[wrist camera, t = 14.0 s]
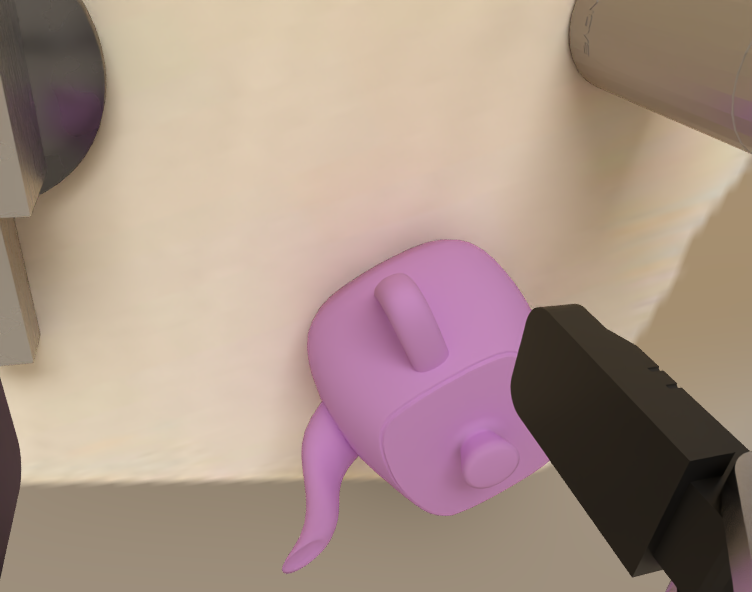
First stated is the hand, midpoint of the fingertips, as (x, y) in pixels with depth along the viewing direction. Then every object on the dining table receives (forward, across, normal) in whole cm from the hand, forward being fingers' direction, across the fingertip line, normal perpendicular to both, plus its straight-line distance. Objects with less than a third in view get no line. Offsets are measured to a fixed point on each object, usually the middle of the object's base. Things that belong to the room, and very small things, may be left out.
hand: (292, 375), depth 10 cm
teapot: (+30, -15, +22) cm, 40 cm away
